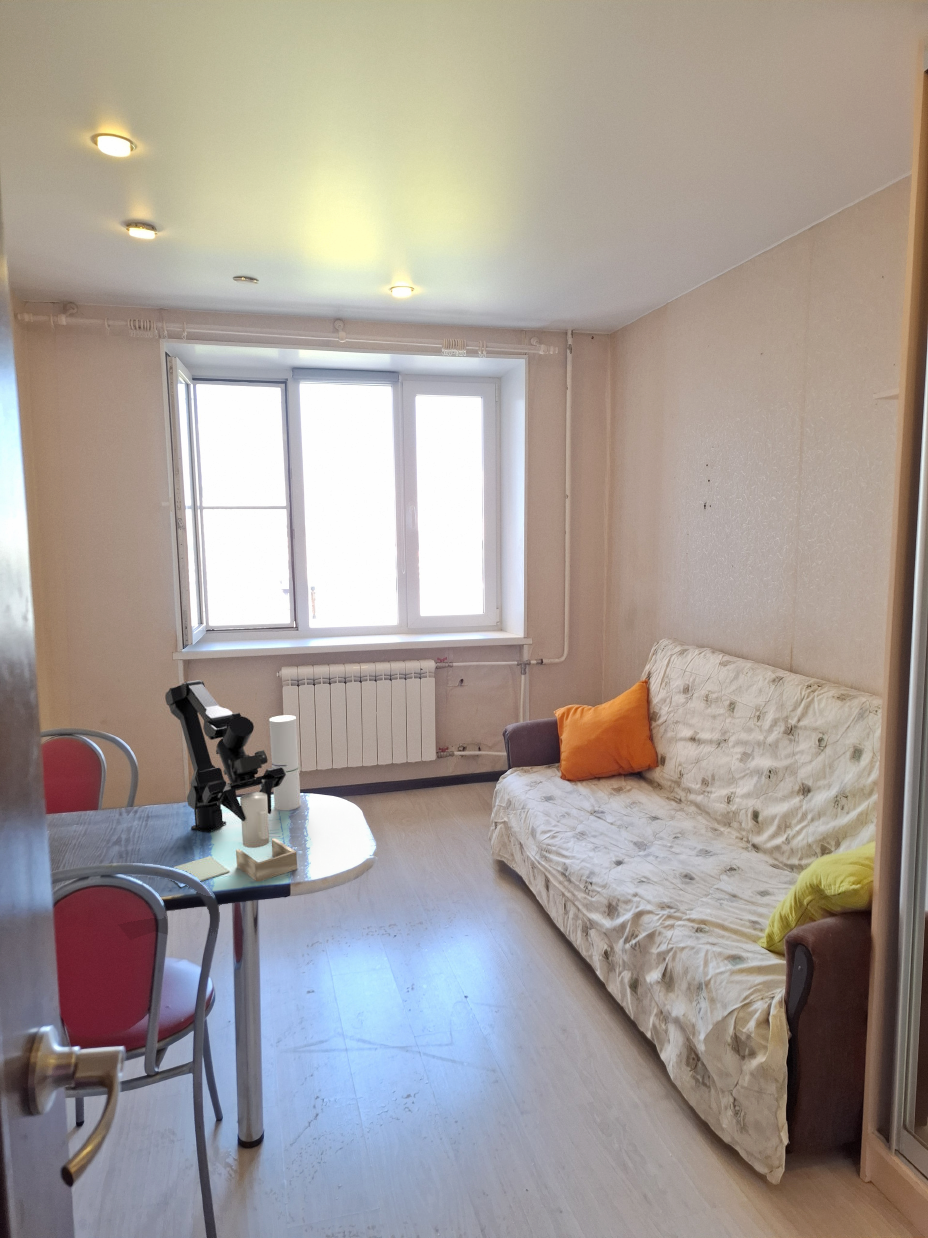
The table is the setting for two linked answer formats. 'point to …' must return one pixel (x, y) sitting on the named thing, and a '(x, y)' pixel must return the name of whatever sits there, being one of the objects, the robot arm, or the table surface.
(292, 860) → the frame
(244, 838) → the rounded top cylinder
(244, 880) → the table surface
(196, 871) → the sage mat
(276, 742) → the cylindrical container
